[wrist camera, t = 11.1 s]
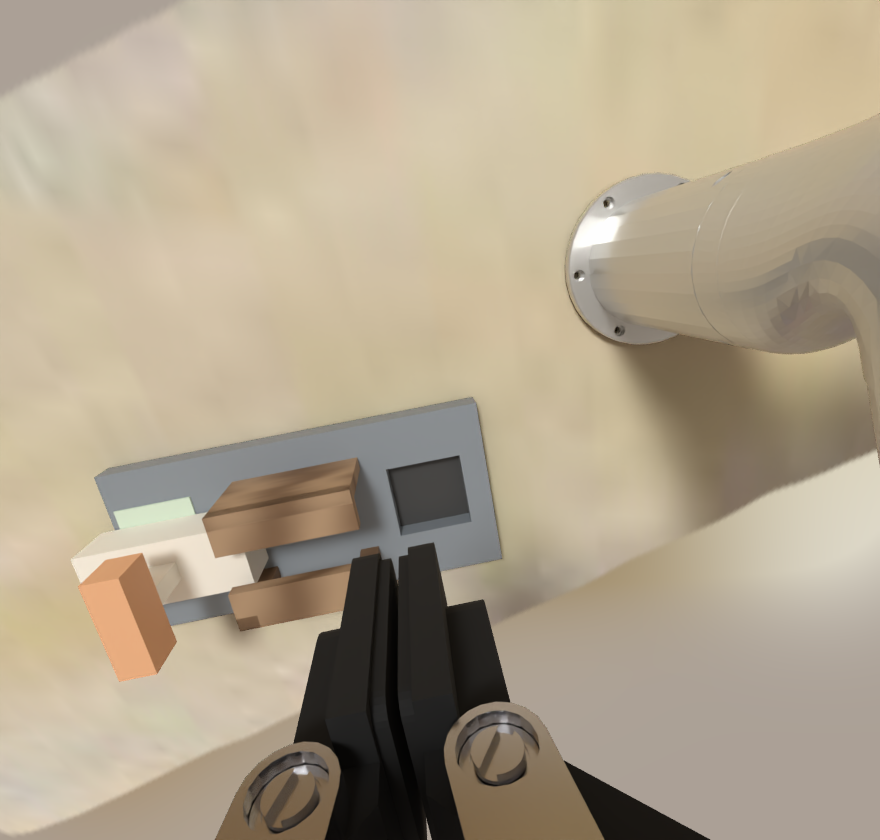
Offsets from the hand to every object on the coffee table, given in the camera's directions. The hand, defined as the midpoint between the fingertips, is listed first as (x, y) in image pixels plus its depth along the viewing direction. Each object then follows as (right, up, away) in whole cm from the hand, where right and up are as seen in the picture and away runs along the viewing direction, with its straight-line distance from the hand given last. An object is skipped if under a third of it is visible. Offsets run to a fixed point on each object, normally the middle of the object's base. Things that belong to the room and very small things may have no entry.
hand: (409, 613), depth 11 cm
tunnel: (-10, -4, +32) cm, 34 cm away
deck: (-10, -4, +34) cm, 35 cm away
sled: (-20, -6, +31) cm, 38 cm away
